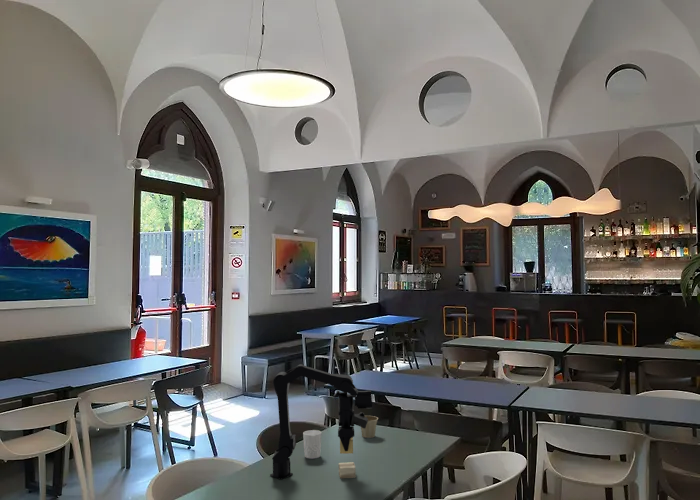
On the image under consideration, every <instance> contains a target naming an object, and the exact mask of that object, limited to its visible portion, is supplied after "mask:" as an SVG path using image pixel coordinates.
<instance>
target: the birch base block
mask: <svg viewBox="0 0 700 500" xmlns="http://www.w3.org/2000/svg"><path fill="white" fill-rule="evenodd" d="M356 473H357V472H356V464H355V462H353V461H351V462H338V475H339V479H355V478H356V475H357V474H356Z"/></svg>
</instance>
